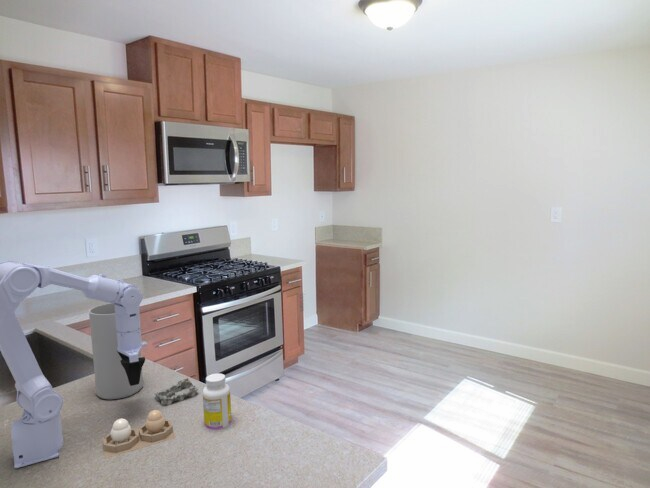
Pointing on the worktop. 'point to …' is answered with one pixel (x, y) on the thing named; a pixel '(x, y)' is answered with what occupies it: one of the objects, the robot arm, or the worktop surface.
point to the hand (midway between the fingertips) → (132, 378)
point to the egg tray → (137, 440)
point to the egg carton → (176, 388)
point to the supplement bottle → (216, 402)
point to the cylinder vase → (108, 355)
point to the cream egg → (120, 431)
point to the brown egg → (155, 422)
